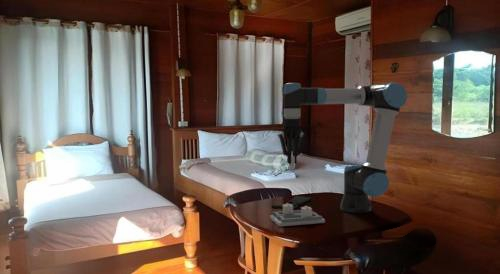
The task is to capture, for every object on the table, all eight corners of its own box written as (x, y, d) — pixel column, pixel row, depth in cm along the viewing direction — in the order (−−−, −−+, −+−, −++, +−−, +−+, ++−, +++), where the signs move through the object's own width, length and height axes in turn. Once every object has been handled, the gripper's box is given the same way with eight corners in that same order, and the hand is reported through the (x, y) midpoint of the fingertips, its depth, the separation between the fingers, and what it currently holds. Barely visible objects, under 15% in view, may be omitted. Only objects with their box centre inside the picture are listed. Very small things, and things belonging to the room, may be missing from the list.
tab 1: (290, 214, 193) (290, 202, 192) (293, 216, 190) (293, 204, 189) (282, 215, 192) (282, 203, 191) (285, 217, 188) (285, 205, 188)
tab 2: (308, 217, 188) (309, 205, 187) (311, 219, 184) (312, 207, 184) (300, 218, 187) (300, 206, 186) (303, 220, 183) (303, 207, 183)
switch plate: (313, 215, 197) (313, 209, 197) (324, 222, 185) (324, 216, 184) (270, 218, 192) (270, 212, 191) (278, 226, 179) (279, 219, 179)
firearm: (287, 194, 236) (311, 196, 230) (287, 198, 237) (311, 200, 230) (268, 204, 211) (295, 207, 204) (268, 209, 211) (295, 212, 205)
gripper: (302, 117, 185) (302, 168, 187) (275, 118, 182) (275, 170, 184) (309, 118, 178) (308, 171, 180) (280, 118, 175) (280, 172, 177)
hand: (292, 170), depth 182 cm, fingers closed
